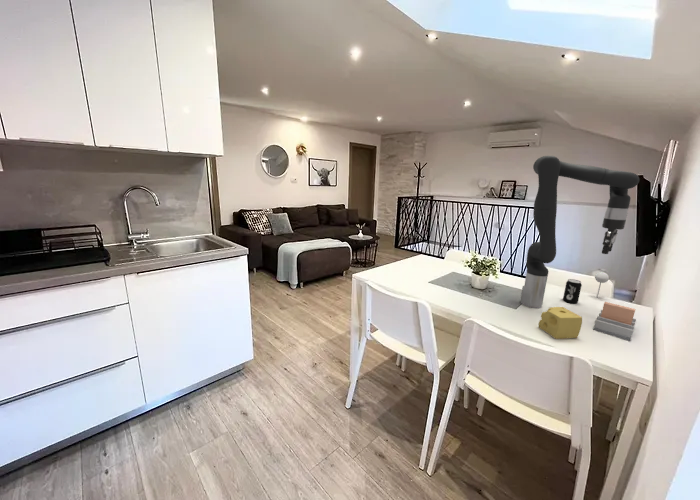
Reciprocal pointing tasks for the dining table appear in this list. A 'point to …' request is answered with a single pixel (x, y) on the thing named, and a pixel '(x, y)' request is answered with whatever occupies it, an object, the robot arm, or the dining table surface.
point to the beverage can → (572, 291)
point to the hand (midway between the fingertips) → (606, 252)
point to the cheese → (560, 323)
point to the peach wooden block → (618, 313)
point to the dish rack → (614, 327)
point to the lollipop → (601, 279)
